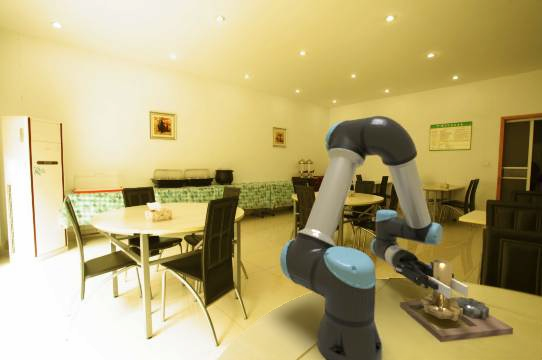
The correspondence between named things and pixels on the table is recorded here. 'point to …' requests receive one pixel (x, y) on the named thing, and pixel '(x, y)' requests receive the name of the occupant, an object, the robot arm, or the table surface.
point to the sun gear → (473, 308)
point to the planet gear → (439, 302)
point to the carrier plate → (476, 330)
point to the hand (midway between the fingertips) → (458, 292)
